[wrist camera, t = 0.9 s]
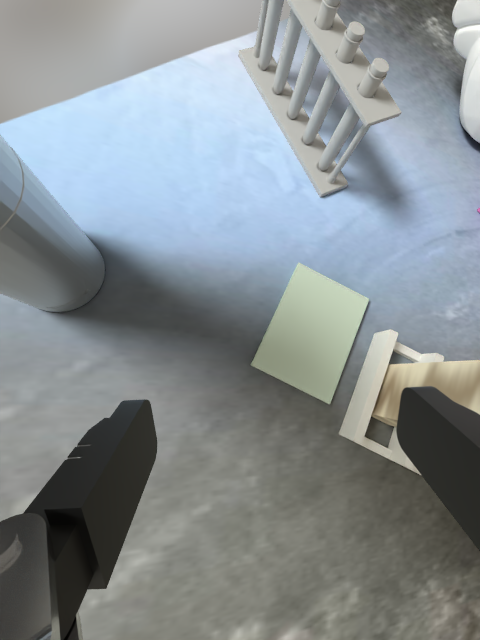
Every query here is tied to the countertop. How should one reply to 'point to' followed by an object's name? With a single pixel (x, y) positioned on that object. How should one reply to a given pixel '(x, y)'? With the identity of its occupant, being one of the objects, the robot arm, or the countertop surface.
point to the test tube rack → (286, 105)
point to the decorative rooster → (469, 62)
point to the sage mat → (311, 333)
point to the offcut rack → (369, 391)
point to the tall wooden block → (448, 377)
